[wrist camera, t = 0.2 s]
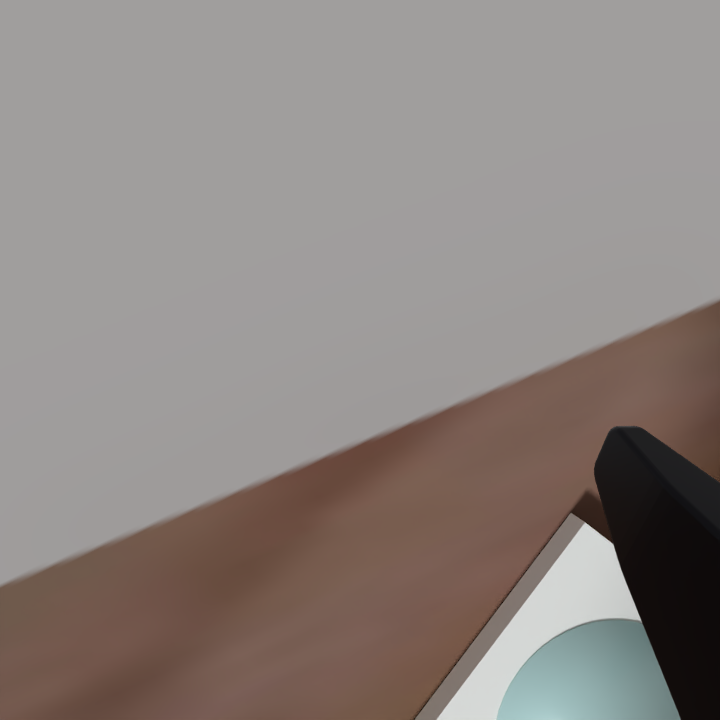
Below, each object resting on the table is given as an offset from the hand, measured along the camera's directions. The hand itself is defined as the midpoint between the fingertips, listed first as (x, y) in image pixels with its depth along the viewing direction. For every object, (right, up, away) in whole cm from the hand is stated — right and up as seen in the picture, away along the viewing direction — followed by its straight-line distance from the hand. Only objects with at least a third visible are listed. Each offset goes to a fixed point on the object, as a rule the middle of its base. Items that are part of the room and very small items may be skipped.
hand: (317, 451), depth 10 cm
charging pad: (+10, -13, +18) cm, 24 cm away
